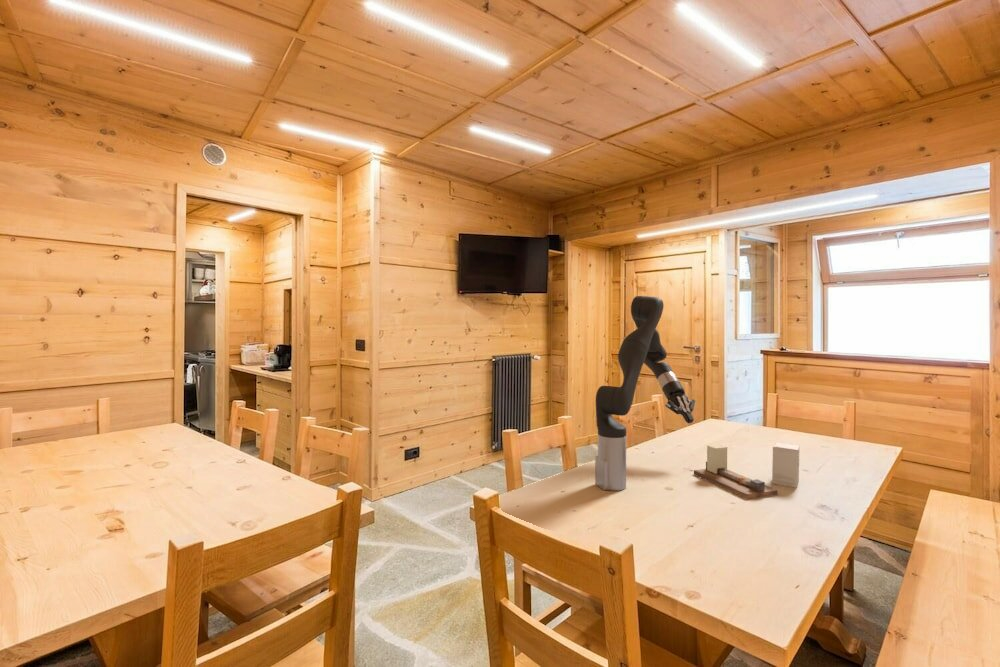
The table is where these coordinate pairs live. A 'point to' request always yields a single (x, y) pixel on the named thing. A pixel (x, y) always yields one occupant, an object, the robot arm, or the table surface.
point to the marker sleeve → (716, 458)
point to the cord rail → (737, 483)
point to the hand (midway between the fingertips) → (690, 422)
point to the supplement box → (785, 464)
